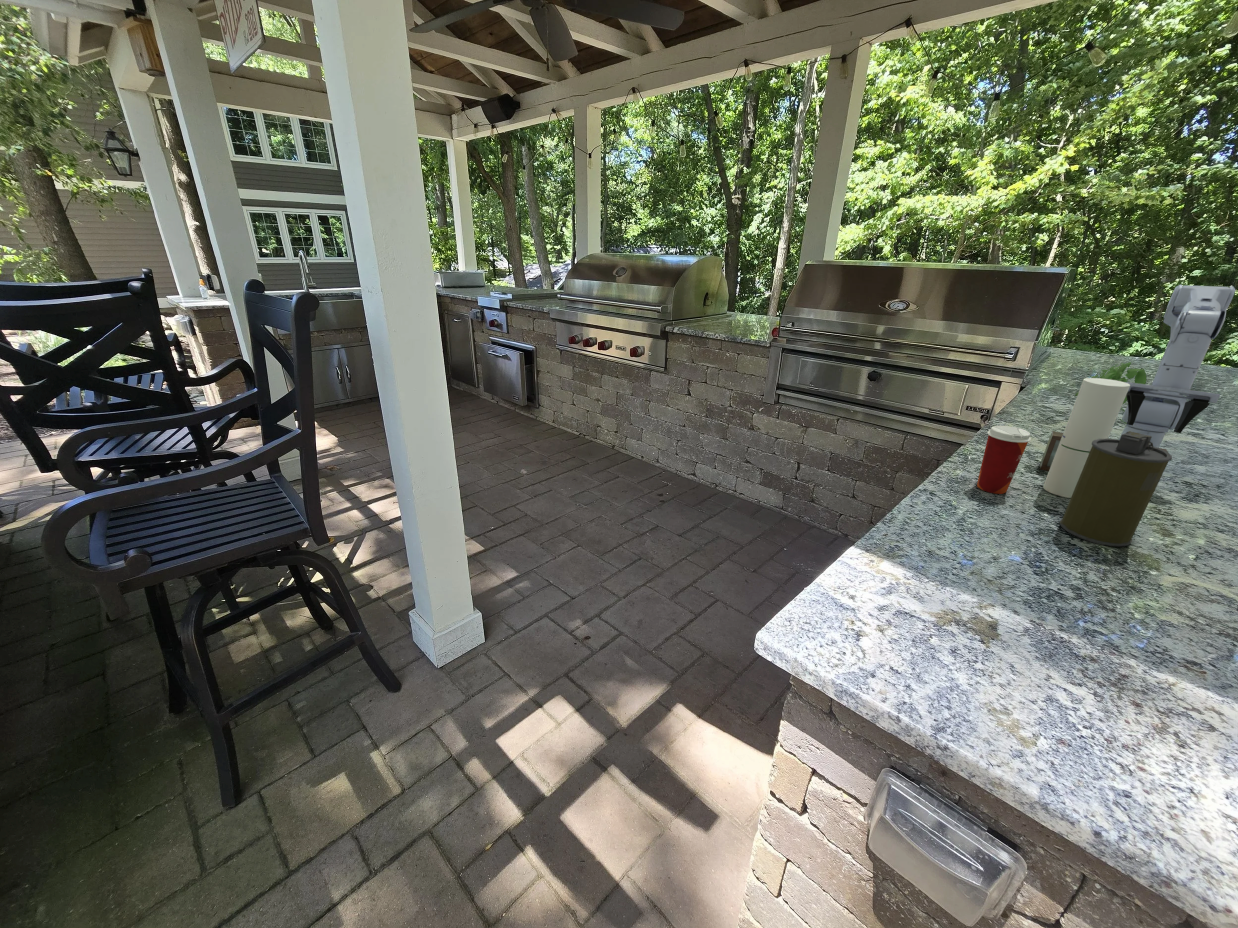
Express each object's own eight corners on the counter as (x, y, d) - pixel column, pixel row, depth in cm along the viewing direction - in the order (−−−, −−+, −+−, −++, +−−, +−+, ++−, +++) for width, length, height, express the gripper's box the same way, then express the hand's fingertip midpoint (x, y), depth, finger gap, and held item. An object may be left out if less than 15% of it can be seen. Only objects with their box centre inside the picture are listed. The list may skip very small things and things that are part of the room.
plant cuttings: (1129, 436, 164) (1075, 386, 172) (1193, 404, 151) (1132, 350, 159) (1103, 462, 144) (1043, 403, 152) (1174, 427, 132) (1105, 365, 139)
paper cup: (1019, 497, 109) (1040, 437, 104) (980, 494, 111) (999, 435, 105) (1001, 482, 116) (1020, 425, 111) (965, 479, 118) (982, 423, 112)
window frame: (1039, 464, 126) (1052, 430, 122) (1149, 485, 115) (1166, 449, 111) (1039, 469, 123) (1052, 435, 120) (1152, 491, 112) (1170, 454, 108)
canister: (1115, 552, 89) (1164, 449, 82) (1048, 526, 98) (1086, 430, 90) (1142, 537, 94) (1191, 438, 86) (1076, 513, 103) (1114, 421, 95)
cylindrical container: (1077, 487, 114) (1121, 380, 104) (1089, 500, 108) (1136, 388, 98) (1039, 482, 116) (1078, 376, 107) (1048, 494, 111) (1090, 384, 101)
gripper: (1138, 362, 108) (1113, 422, 112) (1236, 373, 101) (1205, 438, 104) (1130, 362, 114) (1107, 420, 118) (1222, 373, 106) (1194, 434, 110)
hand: (1152, 428), depth 111 cm, fingers open, 7 cm apart
